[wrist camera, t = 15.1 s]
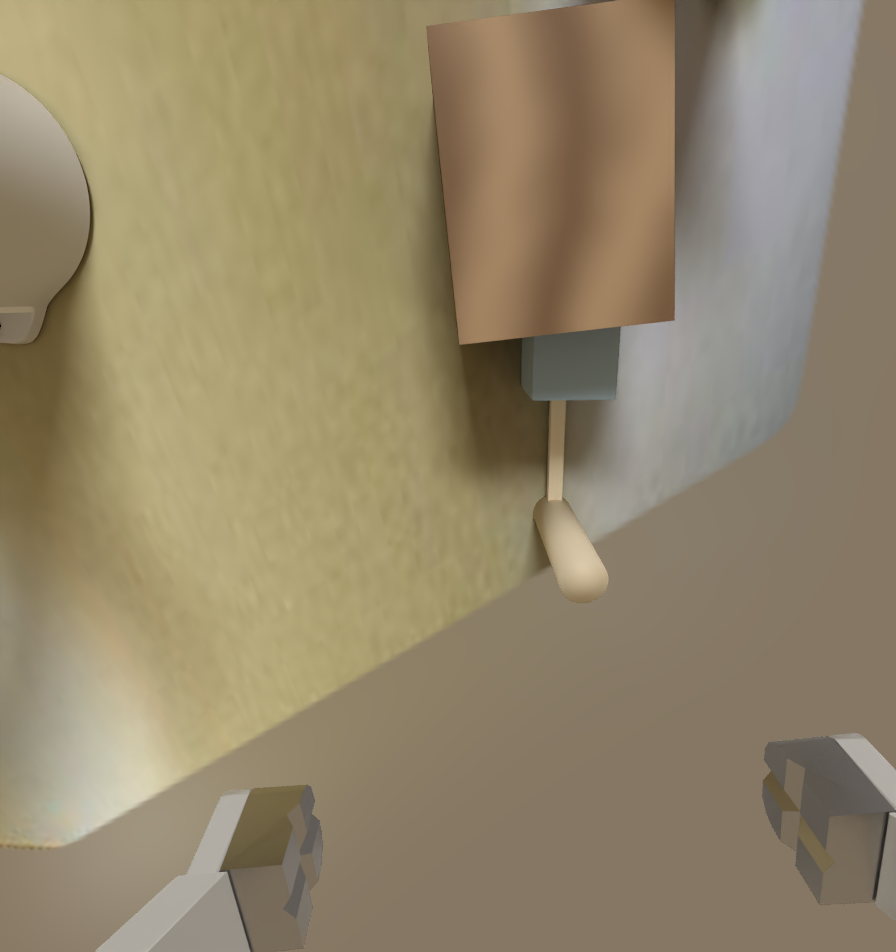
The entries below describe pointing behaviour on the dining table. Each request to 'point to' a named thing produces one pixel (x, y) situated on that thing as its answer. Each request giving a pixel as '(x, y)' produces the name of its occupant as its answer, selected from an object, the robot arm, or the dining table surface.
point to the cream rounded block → (556, 380)
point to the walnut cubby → (558, 167)
